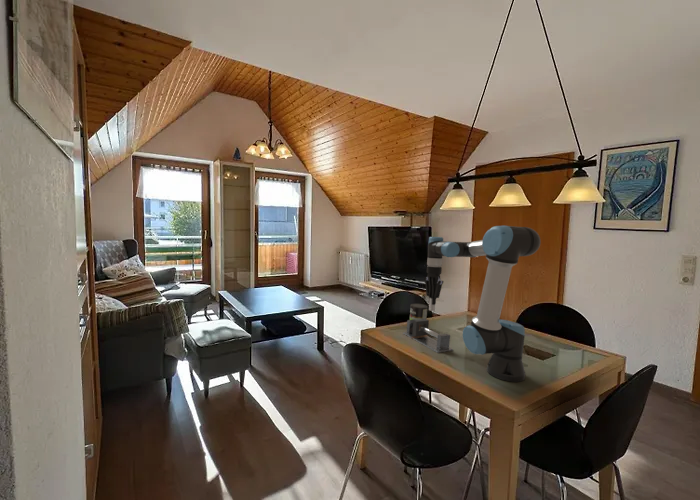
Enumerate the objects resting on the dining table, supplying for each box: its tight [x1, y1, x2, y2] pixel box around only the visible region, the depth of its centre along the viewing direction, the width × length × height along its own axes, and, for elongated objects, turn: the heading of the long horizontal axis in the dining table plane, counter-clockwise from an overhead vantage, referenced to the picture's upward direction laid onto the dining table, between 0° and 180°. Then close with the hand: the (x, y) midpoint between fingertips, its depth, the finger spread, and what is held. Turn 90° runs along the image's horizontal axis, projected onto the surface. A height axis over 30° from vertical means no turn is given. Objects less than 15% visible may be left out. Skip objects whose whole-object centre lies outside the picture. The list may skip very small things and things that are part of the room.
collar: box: [412, 319, 430, 337], centre depth 187 cm, size 3×8×8 cm, turn 116°
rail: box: [402, 319, 454, 354], centre depth 182 cm, size 30×10×8 cm, turn 26°
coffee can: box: [409, 303, 429, 320], centre depth 205 cm, size 10×10×14 cm
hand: (431, 310), depth 179 cm, fingers closed
